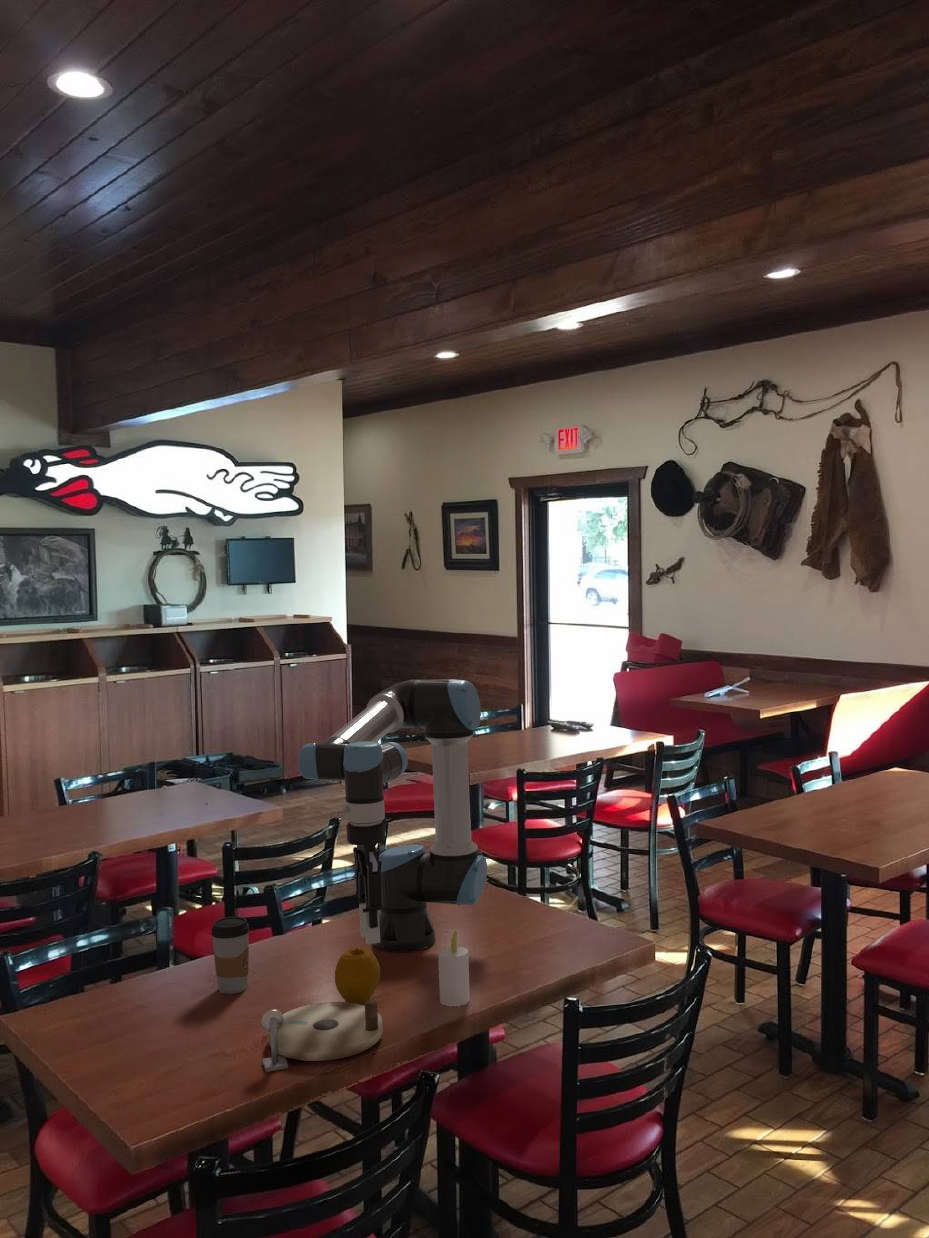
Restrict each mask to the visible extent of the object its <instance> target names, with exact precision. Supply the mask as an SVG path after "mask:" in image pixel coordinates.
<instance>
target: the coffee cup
mask: <svg viewBox="0 0 929 1238" xmlns="http://www.w3.org/2000/svg"><path fill="white" fill-rule="evenodd" d="M249 932H250V924H249V923H248V920H247V918H245V917H242V916H226V917H221V918H219V919H216V920H215V921H213V924H212V927H211V936H212V945H213V958H214V967H215V975H216V980H217V981H216V982H217V989H218V990H219V992H220V993H222V994H224V995H225V994H227V995H232V994H234V995H235V994H239V993H242V992H244V991H245V990H246V989H247V987H248V984H249V983H248V982H249V979H248V978H249V977H248V976H249V952H250V951H249V949H250V948H249V939H250V938H249V937H250V936H249V935H250V933H249Z"/></svg>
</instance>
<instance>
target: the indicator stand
mask: <svg viewBox="0 0 929 1238" xmlns="http://www.w3.org/2000/svg"><path fill="white" fill-rule="evenodd" d="M282 1014H283V1013H282V1012H281V1011H280V1010H279V1009H276V1008H272V1009H268V1010H266V1011H265V1012H264V1013H263V1015H262V1017H261V1026H262V1028H263V1029H264V1031H265V1032H267V1033H269V1032H271V1047H270V1048H271V1049H270V1050H271V1057H265V1058H262V1065H263V1067H264V1070H265V1073H271V1072H274V1071H275V1072H276V1071H281V1070H285V1069H286V1070H287V1069H289V1063H288V1061H287V1059H286V1058H287V1057H284V1056H282V1055H279V1054H278V1038H277V1031H278V1030H279V1029H280V1028H281V1027H282V1025H283V1022H284V1018H283V1015H282Z"/></svg>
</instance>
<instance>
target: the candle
mask: <svg viewBox="0 0 929 1238" xmlns="http://www.w3.org/2000/svg"><path fill="white" fill-rule="evenodd" d="M457 935H458V933H457V930H454V932H453V934H452V937H451V940H450V941H451V942H450V946H446V947H443V948H442V947H441V949H439V950H438V954H437V956H438V965H437V967H438V972H437V974H438V981H439V982H438V983H439V984H438V985H439V1002H440V1004H441V1005H443V1006H445V1005H446V1006H445V1007H450V1008H452V1007H451V1006H455V1007H456V1006H457V1007H462V1006H461V1005H463V1006H465V1005H467V1004H469V1003H470V1000H471V995H470V993H471V992H470V990H471V989H470V967H469V965H470V964H469V963H470V962H469V950H468V949H467V948H466V947H463V946H458V936H457ZM468 1002H469V1003H468ZM455 1007H454V1008H455Z"/></svg>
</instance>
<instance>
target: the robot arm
mask: <svg viewBox="0 0 929 1238" xmlns="http://www.w3.org/2000/svg"><path fill="white" fill-rule="evenodd" d="M481 716H482V708H481V701H480V697H479V694H478V690H477V689H476V687H475V685H474V684H473V683H471V682H470V681H468V680H465V679H464V680H463V679H455V678H453V679H452V678H451V679H450V678H446V679H441V678H440V679H409V680H405V681H401V682H398V683H395V684H393V685H391V686H389V687H387V688H385V689H383V690H382V691H380V692H378V693H377V694H375V695H374V696H373V697H371V698H370V699H369V701H368V703H367V704H366V708H364V710H362V711H361V712H360V713H358V714H357V715H356V716H355V717H354V718H352V719H351V720H349V721H348V722H347V723H346V724H344V725H343V726H342V727H341V728H340V729H338V730H337V731H336V732H334V733H333V734H332V735H331V736H329V737H328V738H327V739H326V740H325V741H323V742H321V743H318V742H314V743H306V744H304V745H303V746H301V748H300V750H299V753H298V758H297V765H298V771H299V773H300V775H301V777H303V778H304V779H306V780H316V781H318V782H319V781H343V782H344V791H345V804H346V805H345V806H344V807H343V808H342V811H343V812H345V813H346V816H345V817H346V822H348V823H347V824H346V841H347V843H349V844H350V845H352V846H353V845H354V846H355V847H353V848H352V852H353V858H354V875H355V877H354V878H355V879H354V880H355V896H356V897H357V901H358V903H359V904H358V905H359V906H358V909H359V910H358V911H359V933H360V934H359V935H360V938H364V937H365V944H366V945H372V944H373V945H374V946H375V947H376V948H377V949H379V950H381V951H382V950H383V951H385V950H386V951H385V952H391V953H392V952H393V953H407V951H409V952H415V951H414V950H416V951H419V950H418V949H420V950H422V949H421V948H424V947H426V946H429V945H430V946H432V945H433V944H434V943H435V942H436V930H435V927H434V925H433V923H432V920H431V917H430V914H429V911H428V904H427V903H432V904H433V903H435V904H448V905H456V906H465V905H466V906H469V905H475V904H476V903H477V902H478V901H479V900H480V898H481V896H482V895H483V892H484V889H485V886H486V881H487V874H488V862H487V858H486V857H485V856H484V855H482V854H481V855H480V854H479V848H478V845H477V844H476V843H475V842H474V841H473V840H472V830H471V829H472V827H471V803H470V801H471V800H470V779H469V777H470V775H469V755H468V754H469V752H468V751H469V750H468V748H469V747H468V742H469V740H471V738H473V736H474V730H476V729H478V727H479V726H480V725H481V724H480V723H481V721H482V720H481ZM406 728H407V729H410V728H411V729H414V728H415V729H424V738H425V739H426V740H427V741H428V742H429V743H430V744H431V760H432V761H431V763H432V782H433V786H432V787H433V789H432V790H433V805H434V806H433V807H434V809H433V811H434V812H433V813H434V833H435V842H434V843H433V844H432V845H431V846H430V848H429V852H426V848H425V846H424V845H422V844H415V843H414V844H405V845H399V846H395V847H391V848H388V849H386V850H384V851H383V852H381V853H380V854H379V851H377V845H378V844H381V843H383V842H384V841H385V840H386V823H385V822H384V821H383V820H384V819H385V818H386V816H385V815H386V814H385V813H386V811H385V796H384V795H385V794H384V784H386V783H388V782H390V781H394V780H396V779H397V778H399V777H400V776H401V775H402V774H404V772H405V771H406V770H407V767H408V763H409V757H408V753H407V752H406V749H405V748H404V747H403V746H402V745H401V744H399V743H397V742H393V741H389V742H383V743H378V742H379V741H380V740H381V739H382V738H383V737H385V736H386V735H387V734H392V733H394V732H396V731H398V730H400V729H406ZM434 941H435V942H434ZM433 942H434V943H433ZM432 943H433V944H432ZM431 944H432V945H431ZM430 946H429V947H430ZM426 948H427V947H426ZM424 949H425V948H424Z"/></svg>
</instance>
